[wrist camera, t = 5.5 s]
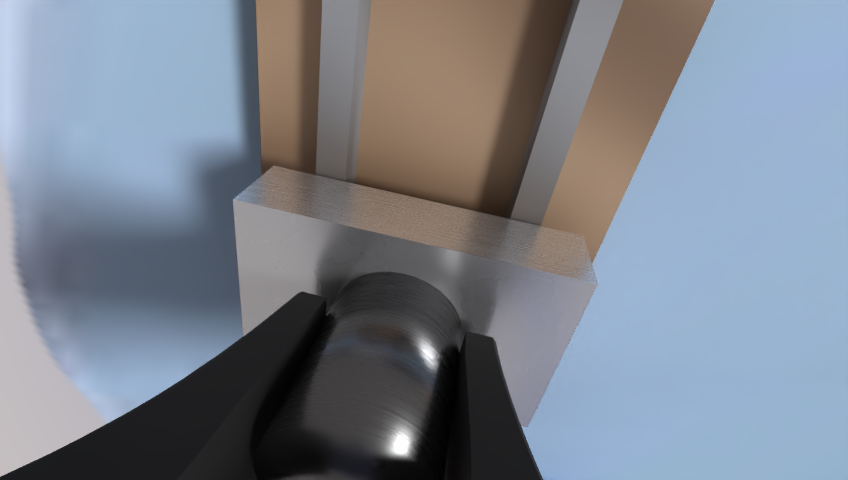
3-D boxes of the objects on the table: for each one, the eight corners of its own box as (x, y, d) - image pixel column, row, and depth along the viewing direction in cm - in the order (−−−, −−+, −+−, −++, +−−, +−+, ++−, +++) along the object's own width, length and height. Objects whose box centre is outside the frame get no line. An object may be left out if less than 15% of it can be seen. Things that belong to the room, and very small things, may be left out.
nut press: (501, 426, 19) (500, 569, 15) (284, 373, 20) (217, 495, 15) (738, -117, 9) (980, -213, 4) (281, -202, 10) (72, -369, 5)
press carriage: (524, 370, 13) (536, 608, 8) (276, 310, 14) (144, 504, 9) (583, 235, 11) (653, 465, 6) (274, 165, 11) (81, 323, 6)
